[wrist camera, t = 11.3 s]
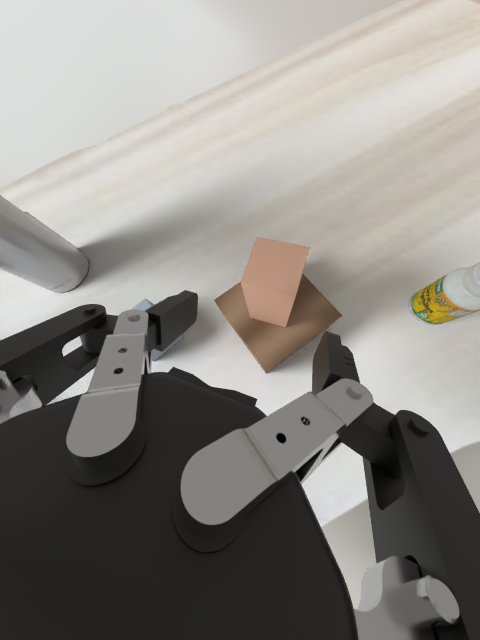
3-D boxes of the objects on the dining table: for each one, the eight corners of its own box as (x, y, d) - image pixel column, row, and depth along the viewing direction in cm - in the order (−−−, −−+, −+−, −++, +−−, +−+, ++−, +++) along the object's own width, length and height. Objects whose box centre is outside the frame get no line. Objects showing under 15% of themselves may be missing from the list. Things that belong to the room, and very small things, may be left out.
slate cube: (136, 334, 35) (111, 324, 29) (164, 311, 35) (145, 298, 30) (154, 361, 33) (131, 357, 27) (184, 337, 34) (167, 328, 28)
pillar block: (250, 317, 27) (240, 282, 18) (260, 286, 28) (257, 237, 19) (285, 327, 26) (295, 296, 17) (294, 294, 27) (309, 247, 18)
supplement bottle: (451, 325, 29) (536, 300, 20) (411, 325, 30) (475, 301, 21) (442, 291, 31) (516, 253, 22) (403, 292, 31) (460, 255, 22)
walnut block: (222, 313, 34) (214, 299, 28) (279, 273, 35) (282, 252, 29) (266, 373, 31) (266, 371, 25) (328, 327, 32) (342, 315, 26)
